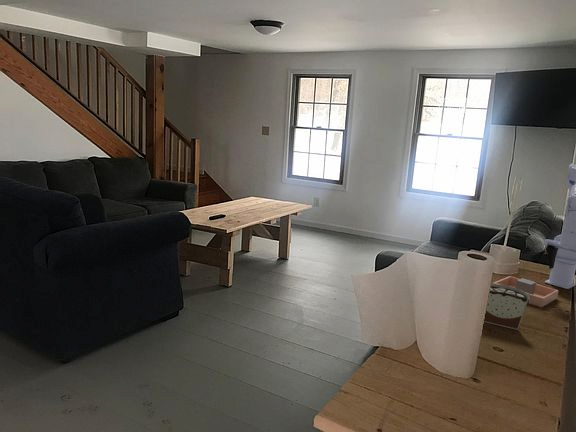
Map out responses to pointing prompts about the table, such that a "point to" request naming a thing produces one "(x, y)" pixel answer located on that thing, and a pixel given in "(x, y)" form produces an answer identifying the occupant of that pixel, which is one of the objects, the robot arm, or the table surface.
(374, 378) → the table surface
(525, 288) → the grey block
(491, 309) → the food container
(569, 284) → the robot arm
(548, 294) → the terracotta bin
